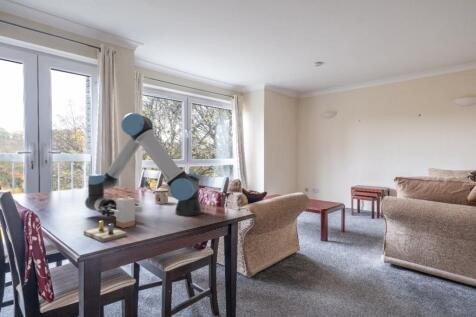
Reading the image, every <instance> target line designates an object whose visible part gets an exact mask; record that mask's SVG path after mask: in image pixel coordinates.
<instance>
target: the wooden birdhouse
mask: <svg viewBox="0 0 476 317" xmlns="http://www.w3.org/2000/svg"><path fill="white" fill-rule="evenodd" d="M154 202H155V204H157V205H165V203H166V204H168V203H169V189H168V188H165V187H164V186H162V185H161V186H160V187H158V188H156V189H155V190H154Z"/></svg>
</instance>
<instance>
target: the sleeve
mask: <svg viewBox="0 0 476 317" xmlns="http://www.w3.org/2000/svg"><path fill="white" fill-rule="evenodd" d="M115 202H116V210H118V211H120V217H116V216H115V221H116V223H115V225H116V227H119V228H122V229H125V228H128V227H134V226H135V224H136V211H135V204H136V198H135V197H129V196H128V197H122V198H121V197H119V198H116V200H115Z"/></svg>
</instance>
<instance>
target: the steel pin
mask: <svg viewBox="0 0 476 317" xmlns="http://www.w3.org/2000/svg"><path fill="white" fill-rule="evenodd" d="M107 226H108V234H113V228H114V223H113V222H112V223H108V224H107Z"/></svg>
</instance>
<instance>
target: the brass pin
mask: <svg viewBox="0 0 476 317" xmlns="http://www.w3.org/2000/svg"><path fill="white" fill-rule="evenodd" d="M104 222H105V221H104V220H98V228H99V231H103V230H104V226H105V223H104Z"/></svg>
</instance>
